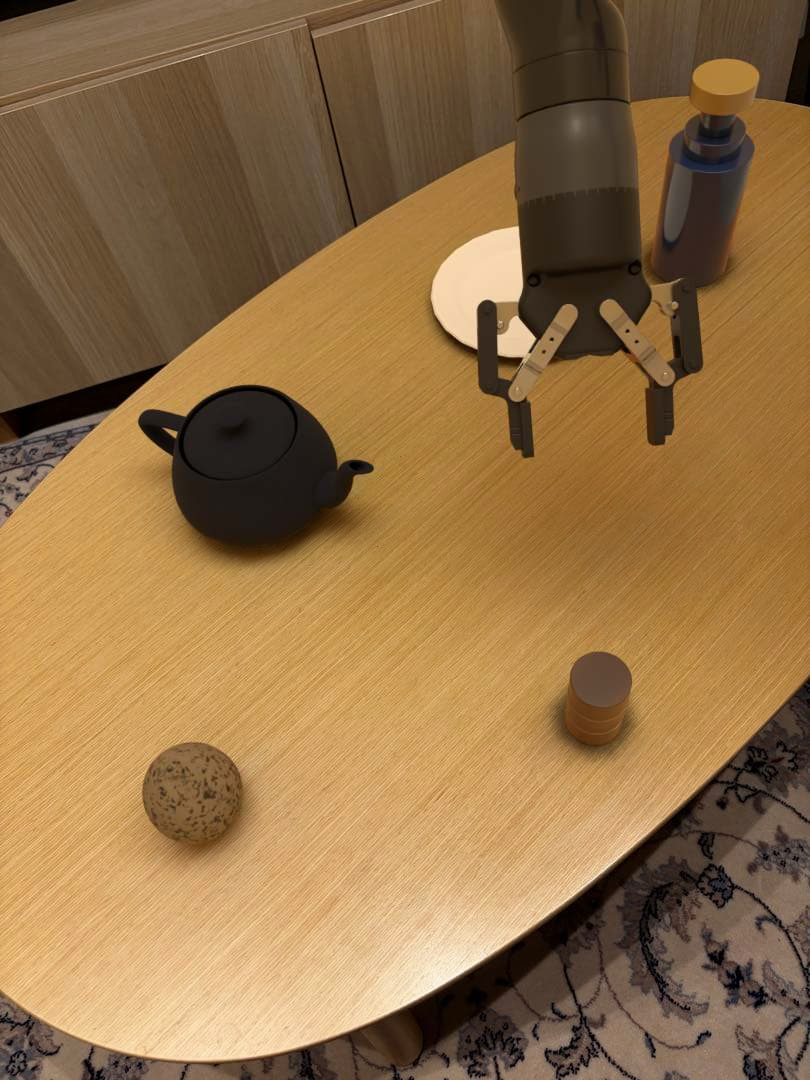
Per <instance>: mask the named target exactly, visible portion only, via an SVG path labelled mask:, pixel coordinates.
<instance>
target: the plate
mask: <svg viewBox="0 0 810 1080" xmlns="http://www.w3.org/2000/svg"><path fill="white" fill-rule="evenodd" d="M522 288H523V279H522V265H521V252H520V238H519V225H517V226H511V227H505V228H500V229H495V230H492V231H490V232H487V233H484V234H482V235H479V236H477V237H474V238H472V239H471V240H469V241H467V242H466V243H463V245H461V246H460V247H458V248H456V249H455V250H454V251H453V252H452V253H451V254H450V255H449V256H448V257H447V258H446V259H445V260H444V261H443V262H442V263H441V264H440V266H439V268H438V270H437V272H436V274H435V276H434V278H433V280H432V286H431V292H430V300H431V304H432V309H433V313H434V316H435V318H436V319H437V320H438V323H440V325H441V327H442V328H443V330H444V331H445V332H446V333H448V334H449V335H450V336H451V337H453V338H454V339H455V340H456V341H458V342H459V343H460V344H462V345H464V346H466V347H467V348H468V347H469V348H470V349H473V350H475V351H477V352H478V349H477V312H476V310H477V306H478V305H479V304H480V303H481V302H482V301H484V300H491V301H493V302H508V301H518V300H519V298H520V296H521V293H522ZM535 339H536V338H535V337H534V336H533V334H532V333H531V332H530V331H529V330H528V328H527V327H526V326H525V325H524V324H523V323H522V321H521V320H520V319H519V317H518V316H515V317H513V318H512V319H511V320H510V322H509V328H508V330H507V331H506V332H505V333H504V334H501V335H497V341H498V357H499V358H505V359H523V358H524V357H525V355H526V354H527V352H528V350H529V349H530V347H531V345H532V344H533V342H534V341H535Z"/></svg>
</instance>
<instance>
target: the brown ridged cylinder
mask: <svg viewBox="0 0 810 1080" xmlns="http://www.w3.org/2000/svg"><path fill="white" fill-rule="evenodd" d="M632 687H633V676H632V673H631V670H630V667H628V665H627V664H626V663H625V661H624V660H622V659H621V657H618V656H617V655H615V654H613V653H610V652H606V651H601V650H600V651H591V652H588V653H585V654H583V655H582V656H580V657H579V658H577V660H576V661H574V663H573V665H572V667H571V669H570V673H569V680H568V686H567V696H566V699H565V700H566V701H565V714H564V721H565V725H566V728H567V730H568V732H569V733H570V734H571V735H572V737H573V738H575V739H576V740H577V741H578V742H580V743H583V744H585V745H589V746H602V745H605V744H608V743H610V742H611V741H613V740H614V739H615V738H616V736H617V735H619V732H620V730H621V727H622V724H623V720H624V718H625V715H626V709H627V708H628V705H629V701H630V694H631V691H632Z"/></svg>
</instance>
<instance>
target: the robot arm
mask: <svg viewBox="0 0 810 1080" xmlns="http://www.w3.org/2000/svg"><path fill="white" fill-rule="evenodd" d="M493 1H494V4H495V8H496V13H497V16H498V19H499V21H500V25H501V27H502V30H503V32H504V35H505V38H506V41H507V44H508V49H509V54H510V65H511V66H510V70H511V86H512V99H513V100H512V101H513V111H514V112H513V113H514V124H515V125H514V126H515V127H514V128H515V129H514V131H515V132H514V133H515V135H514V137H515V138H514V152H513V153H514V156H513V157H514V159H513V162H514V163H513V165H514V168H513V169H514V181H515V182H514V187H513V192H514V193H513V195H514V198H515V201H516V211H517V223H518V225H517V226H519V238H520V252H521V265H522V279H523V288H522V293H521V296H520V298H519V300H518V301H508V302H493V301H491V300H484V301H482V302H481V303H480V304H479V305H478V306H477V310H476V312H477V349H478V351H477V380H478V381H477V382H478V387H479V390H480V391H481V392H482V394H484V395H489V396H494V397H497V398H501V399H503V400H504V401H505V402H506V405H507V419H508V430H509V441H510V443H511V445H512V447H513V449H514V451H520V453H521V457H522V458H523V459H532V458H535V445H534V432H533V419H532V418H533V417H532V406H531V403H532V402H531V400H528V394H529V393H530V391H531V389H532V388H533V387H534V385H535V383H536V382H537V380H538V378H539V377H540V375H541V374H543V372H544V371H545V369H546V367H547V366H548V364H549V363H550V361H551V360H552V359H553V358H555V359H558V360H560V361H574V360H575V361H576V360H579V359H581V358H584V357H587V356H593V357H600V358H601V357H610V356H612V357H613V356H614V355H615V354H617V353H618V352H620V351H621V352H622V353H623V355H624V356H625V357H626V358H627V359H628V360H629V361H630V362H631V363H632V364H634V366H635V367H636V368H637V369H638V370H639V371H640V372H641V373H642V375H643V376H644V377H645V378H646V379H647V380H648V387H644V397H645V400H644V401H645V417H646V419H645V421H646V438H647V443H648V444H649V445H651V446H653V447H657V446H665V445H666V437H667V436H673V432H674V429H675V411H674V410H675V405H674V387H675V385H676V384H677V382H678V381H679V380H682V379H684V378H686V377H688V376H690V375H692V374H698V373H699V372H700V371H702V369H703V367H704V357H703V356H704V355H703V346H702V345H703V344H702V334H701V322H700V312H699V300H698V290H697V289H698V288H697V287H696V283H695V281H694V280H693V279H691V278H680V279H677V280H675V281H672V282H671V283H667V282H665V283H660V284H655V285H649V283H648V282H647V280H646V277H645V275H644V271H643V251H642V249H643V248H642V228H641V226H642V225H641V208H640V207H641V206H640V205H641V204H640V185H639V184H640V183H639V181H640V180H639V163H638V162H639V161H638V146H637V145H638V144H637V139H636V132H635V127H634V121H633V116H632V106H631V103H632V101H631V80H630V60H629V59H630V58H629V45H628V44H629V43H628V35H627V29H626V24H625V20H624V17H623V15H622V12H621V11H620V9H619V8H618V7H617V5H615V3H614V2H613V1H612V0H493ZM652 302H653V303H655V304H656V305H657V306H658V309H659V312H660V314H661V315H662V316H665V317H669V324H670V332H671V345H672V353H673V358H672V359H670V360H668V361H666V360H665V359H664V358H663V357H662V356H661V354H660V353H659V352H658V351H657V350H656V346H654V344H653V343H652V342H651V341H650V340H649V339H648V338H647V336H646V335H645V334H644V333H643V332H642V331H641V329H640V328H639V327H638V325H639V323H640V321H641V320H642V318H643V317H644V316H645V314H646V312H647V310H648V309H649V307H650V305H651V303H652ZM515 316H518V317H519V319H520V320H521V321H522V323H523V324H524V325H525V326H526V327H527V328H528V330H529V331H530V332H531V333H532V334H533V336H534V337H535V338H536V339H535V341H534V342H533V344H532V345H531V347H530V349H529V350H528V352H527V354H526V355H525V357H524V358H522V360H521V362H520V364H519V366H518V368H517V369H516V371H515V372H514V374H513V375H512V377H511V379H508V378H504V377H499V356H498V341H497V335H501V334H504V333H505V332H506V331H507V330H508V328H509V322H510V320H511V319H512V318H513V317H515Z"/></svg>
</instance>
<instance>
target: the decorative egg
mask: <svg viewBox="0 0 810 1080" xmlns="http://www.w3.org/2000/svg"><path fill="white" fill-rule="evenodd" d="M142 781H143V782H142V789H141V796H142V804H143V808H144V812H145V813H146V815H147V817H148V819H149V821H150V822H151V824H152V825H153V826H154V828H155V829H156V830H157V831H158V832H159V833H161V834H162V835H163V836H165V837H167V838H168V839H169V840H170V839H171V840H173V841H174V842H177V843H181V844H189V845H191V844H193V845H194V844H195V845H197V844H203V843H207V842H209V841H212V840H215V839H217V838H218V837H219V836H221V835H222V834H224V833H225V832H226V831H228V830H229V828H230V827H231V826H232V825H233V824H234V822H235V821H236V819H237V817H238V816H239V813H240V811H241V809H242V804H243V801H244V785H243V784H244V783H243V778H242V776H241V773H240V771H239V769H238V767H237V765H236V763H234V761H233V760H232V759H231V758H230V756H229V755H228V754H226V752H224V751H222V750H221V749H220V748H218V747H215V746H213V745H211V744H208V743H206V742H205V743H204V742H197V741H195V742H194V741H190V742H189V741H188V742H183V743H178V744H174V745H172V746H170V747H168V748H166V749H164V750H163V751H162V752H161V753H160V754H158V755H157V756H156V757H155V758H154V760H152V761H151V763H150V765H149V766H148V768H147V770H146V772H145V774H144V778H143V780H142Z"/></svg>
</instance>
